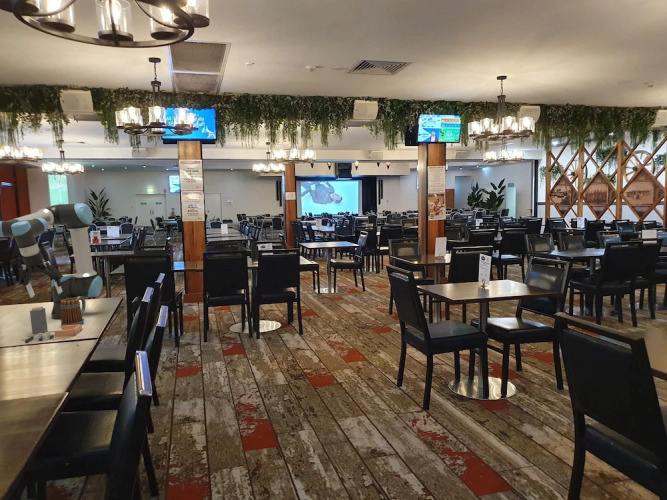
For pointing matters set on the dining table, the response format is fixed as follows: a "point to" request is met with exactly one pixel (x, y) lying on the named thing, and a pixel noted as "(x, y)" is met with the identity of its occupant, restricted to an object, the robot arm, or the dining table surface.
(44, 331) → the grey tall block
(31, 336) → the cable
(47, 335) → the cable clips
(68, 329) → the end holder
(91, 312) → the dining table surface
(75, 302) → the mug
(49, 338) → the board
